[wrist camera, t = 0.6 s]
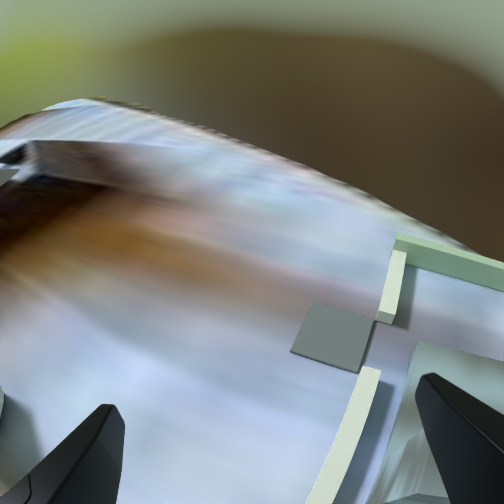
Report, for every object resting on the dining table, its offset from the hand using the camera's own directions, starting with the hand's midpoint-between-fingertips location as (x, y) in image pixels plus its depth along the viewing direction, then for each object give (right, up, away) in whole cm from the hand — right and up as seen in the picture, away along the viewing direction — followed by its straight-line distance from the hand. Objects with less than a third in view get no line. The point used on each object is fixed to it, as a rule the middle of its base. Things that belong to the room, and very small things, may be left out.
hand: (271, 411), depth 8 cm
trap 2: (+7, -3, +19) cm, 20 cm away
